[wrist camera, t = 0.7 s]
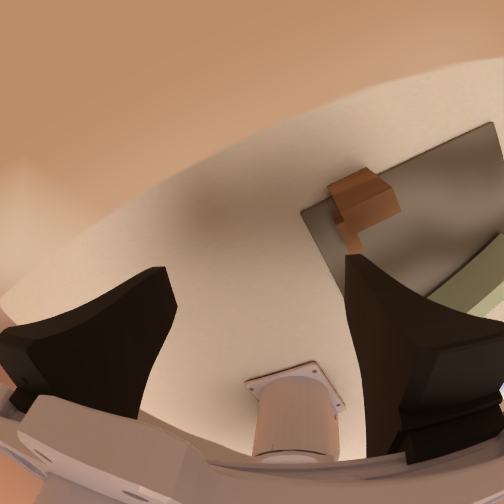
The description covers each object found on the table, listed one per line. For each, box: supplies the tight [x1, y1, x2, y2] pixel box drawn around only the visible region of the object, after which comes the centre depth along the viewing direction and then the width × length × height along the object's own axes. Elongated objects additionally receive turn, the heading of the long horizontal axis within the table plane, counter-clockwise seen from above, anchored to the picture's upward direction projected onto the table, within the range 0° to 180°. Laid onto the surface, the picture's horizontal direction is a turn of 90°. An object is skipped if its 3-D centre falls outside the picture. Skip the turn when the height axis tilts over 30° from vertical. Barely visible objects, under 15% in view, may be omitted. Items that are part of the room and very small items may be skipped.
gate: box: [427, 233, 504, 318], centre depth 18 cm, size 10×2×4 cm, turn 136°
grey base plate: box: [300, 122, 504, 298], centre depth 17 cm, size 16×17×6 cm
